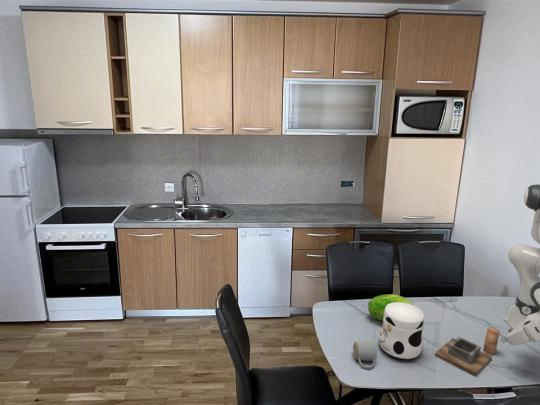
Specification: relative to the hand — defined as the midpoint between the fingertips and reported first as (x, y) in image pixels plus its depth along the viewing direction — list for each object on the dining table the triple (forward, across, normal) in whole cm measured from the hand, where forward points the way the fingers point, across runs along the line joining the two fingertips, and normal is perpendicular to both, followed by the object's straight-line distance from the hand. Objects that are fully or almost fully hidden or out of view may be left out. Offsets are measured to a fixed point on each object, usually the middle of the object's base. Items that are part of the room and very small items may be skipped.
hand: (505, 335), depth 158 cm
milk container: (+28, +29, -14) cm, 43 cm away
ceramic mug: (+32, +46, -17) cm, 58 cm away
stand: (+14, +13, 0) cm, 19 cm away
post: (+10, 0, +4) cm, 11 cm away
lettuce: (+40, +11, -25) cm, 48 cm away
